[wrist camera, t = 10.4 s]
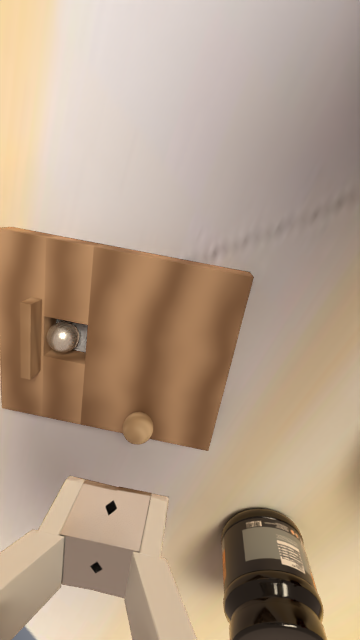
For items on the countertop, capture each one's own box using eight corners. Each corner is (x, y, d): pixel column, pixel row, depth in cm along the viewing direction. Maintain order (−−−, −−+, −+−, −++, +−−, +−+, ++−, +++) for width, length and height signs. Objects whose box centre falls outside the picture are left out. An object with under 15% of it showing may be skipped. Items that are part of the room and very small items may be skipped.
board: (249, 272, 29) (257, 281, 25) (208, 435, 36) (208, 464, 31) (12, 227, 30) (-20, 228, 25) (15, 395, 36) (-11, 419, 32)
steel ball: (58, 331, 29) (40, 321, 30) (58, 360, 30) (40, 349, 31) (86, 324, 31) (68, 315, 33) (84, 352, 32) (67, 341, 34)
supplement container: (227, 561, 42) (233, 686, 31) (214, 506, 39) (216, 623, 28) (303, 558, 41) (339, 687, 30) (296, 500, 38) (334, 621, 26)
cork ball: (157, 409, 32) (152, 429, 29) (153, 432, 33) (148, 454, 30) (128, 403, 32) (120, 422, 29) (125, 427, 33) (117, 447, 30)
